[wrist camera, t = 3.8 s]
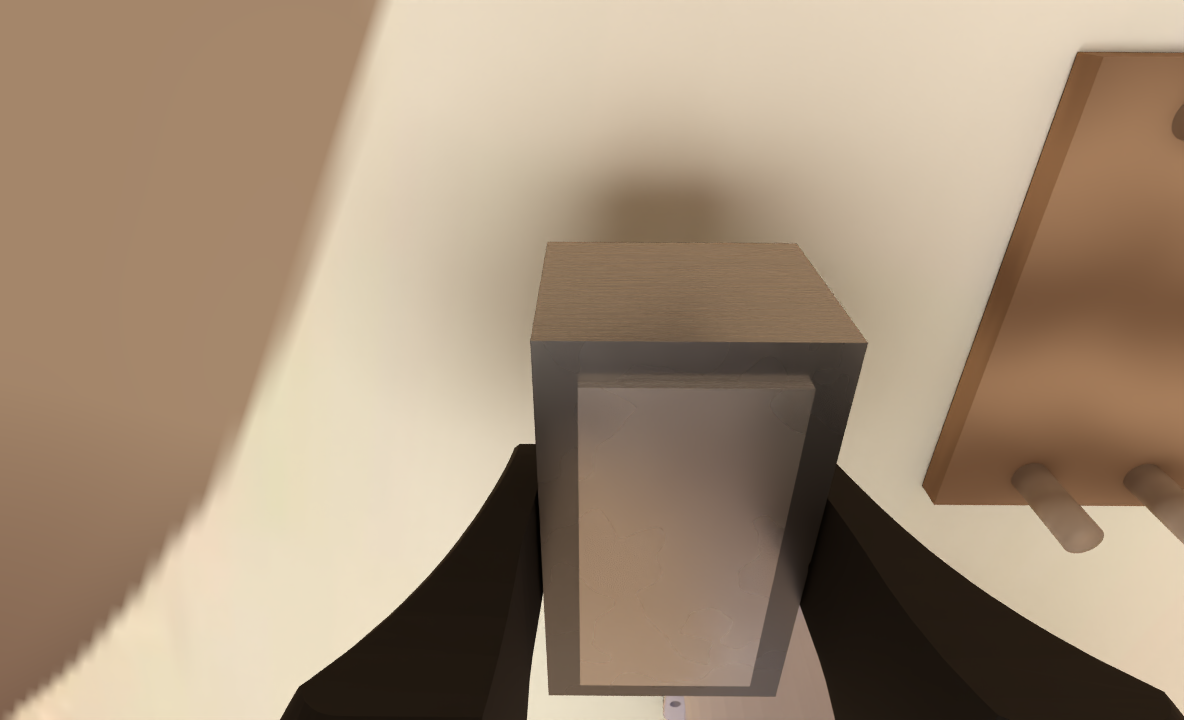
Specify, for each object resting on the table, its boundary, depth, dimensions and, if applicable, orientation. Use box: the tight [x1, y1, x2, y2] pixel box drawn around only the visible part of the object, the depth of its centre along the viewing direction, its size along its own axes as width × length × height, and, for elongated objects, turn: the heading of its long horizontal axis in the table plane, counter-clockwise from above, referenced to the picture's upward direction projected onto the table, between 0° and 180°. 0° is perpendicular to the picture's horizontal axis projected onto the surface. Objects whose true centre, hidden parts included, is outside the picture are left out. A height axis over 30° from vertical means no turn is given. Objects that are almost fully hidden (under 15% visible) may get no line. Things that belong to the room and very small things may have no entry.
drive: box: [530, 242, 868, 697], centre depth 14 cm, size 9×5×4 cm, turn 0°
